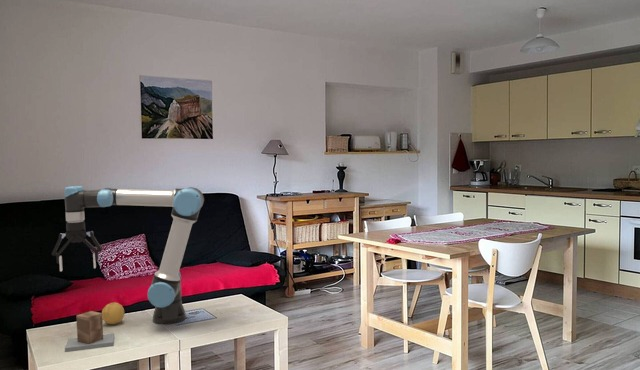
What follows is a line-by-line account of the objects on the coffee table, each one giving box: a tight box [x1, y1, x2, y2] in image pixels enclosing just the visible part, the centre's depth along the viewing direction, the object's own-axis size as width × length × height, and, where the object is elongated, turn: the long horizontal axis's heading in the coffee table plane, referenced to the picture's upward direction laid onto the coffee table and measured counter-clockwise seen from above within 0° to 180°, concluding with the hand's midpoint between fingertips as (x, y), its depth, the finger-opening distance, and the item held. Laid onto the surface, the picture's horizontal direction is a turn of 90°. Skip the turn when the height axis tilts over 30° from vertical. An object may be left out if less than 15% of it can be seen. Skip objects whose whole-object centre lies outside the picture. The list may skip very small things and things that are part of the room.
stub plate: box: [64, 333, 115, 353], centre depth 222 cm, size 18×12×8 cm, turn 109°
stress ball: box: [101, 302, 125, 325], centre depth 249 cm, size 10×10×10 cm
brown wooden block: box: [76, 310, 104, 344], centre depth 221 cm, size 7×7×11 cm
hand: (78, 269), depth 236 cm, fingers open, 13 cm apart
